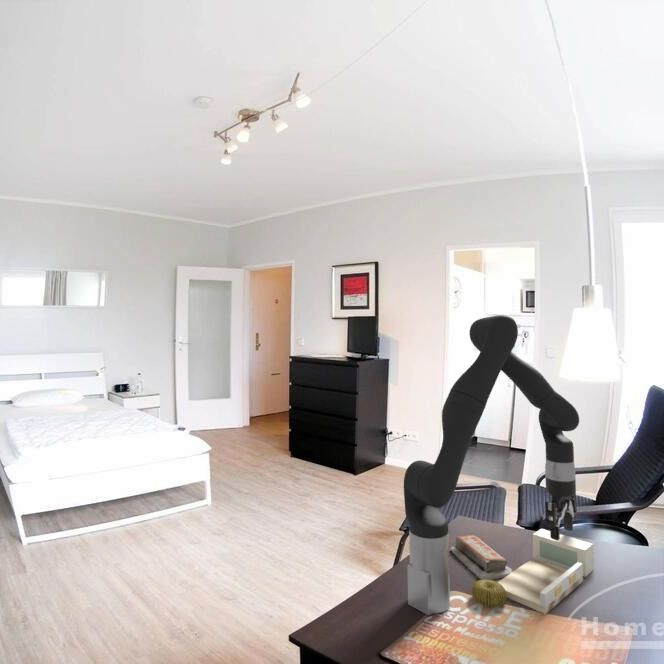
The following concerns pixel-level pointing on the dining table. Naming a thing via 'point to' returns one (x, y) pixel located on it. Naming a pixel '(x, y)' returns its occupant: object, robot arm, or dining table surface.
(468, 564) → the packaged product
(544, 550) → the carton
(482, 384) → the robot arm
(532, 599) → the shelf board
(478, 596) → the sculpture
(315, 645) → the dining table surface
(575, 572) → the rail
